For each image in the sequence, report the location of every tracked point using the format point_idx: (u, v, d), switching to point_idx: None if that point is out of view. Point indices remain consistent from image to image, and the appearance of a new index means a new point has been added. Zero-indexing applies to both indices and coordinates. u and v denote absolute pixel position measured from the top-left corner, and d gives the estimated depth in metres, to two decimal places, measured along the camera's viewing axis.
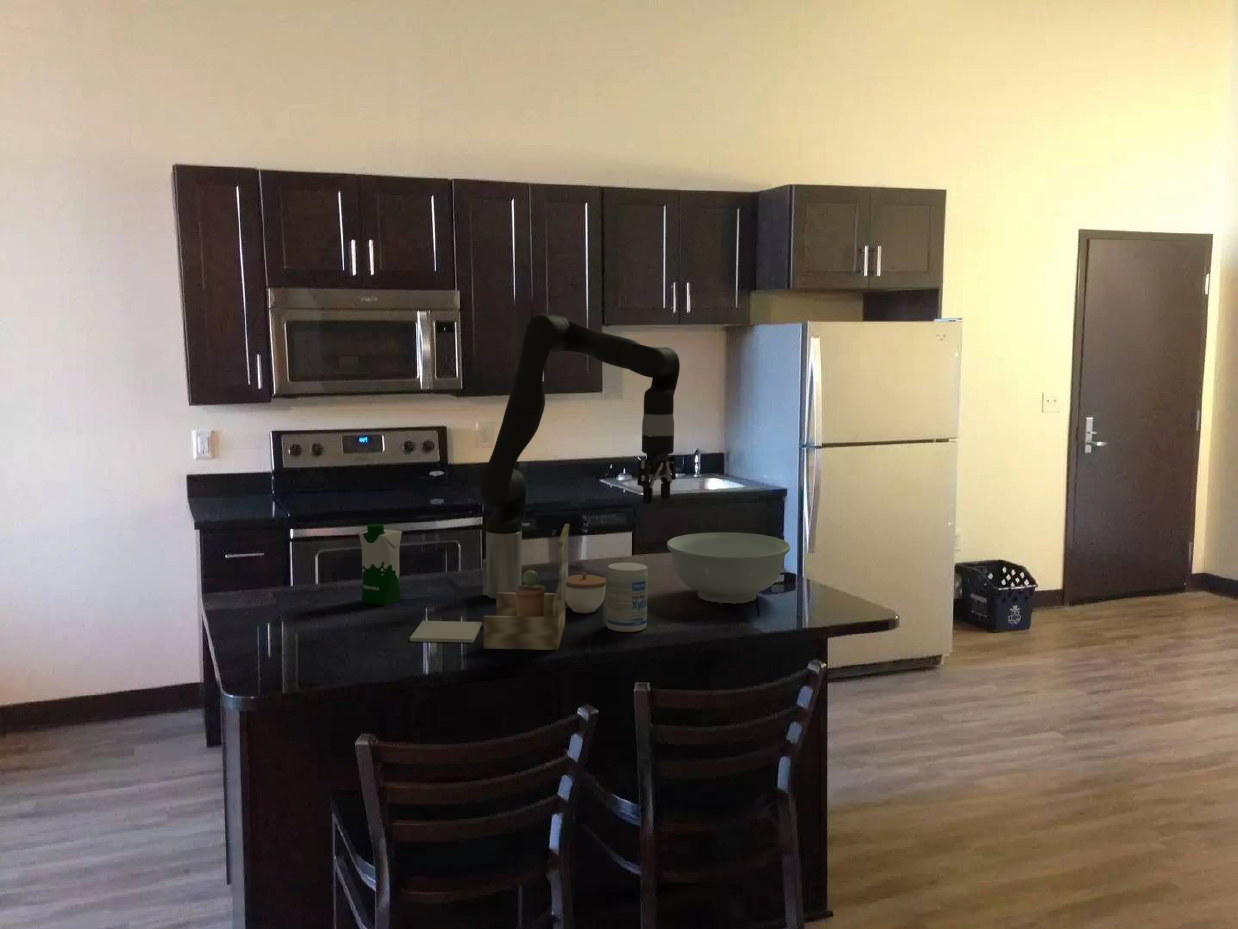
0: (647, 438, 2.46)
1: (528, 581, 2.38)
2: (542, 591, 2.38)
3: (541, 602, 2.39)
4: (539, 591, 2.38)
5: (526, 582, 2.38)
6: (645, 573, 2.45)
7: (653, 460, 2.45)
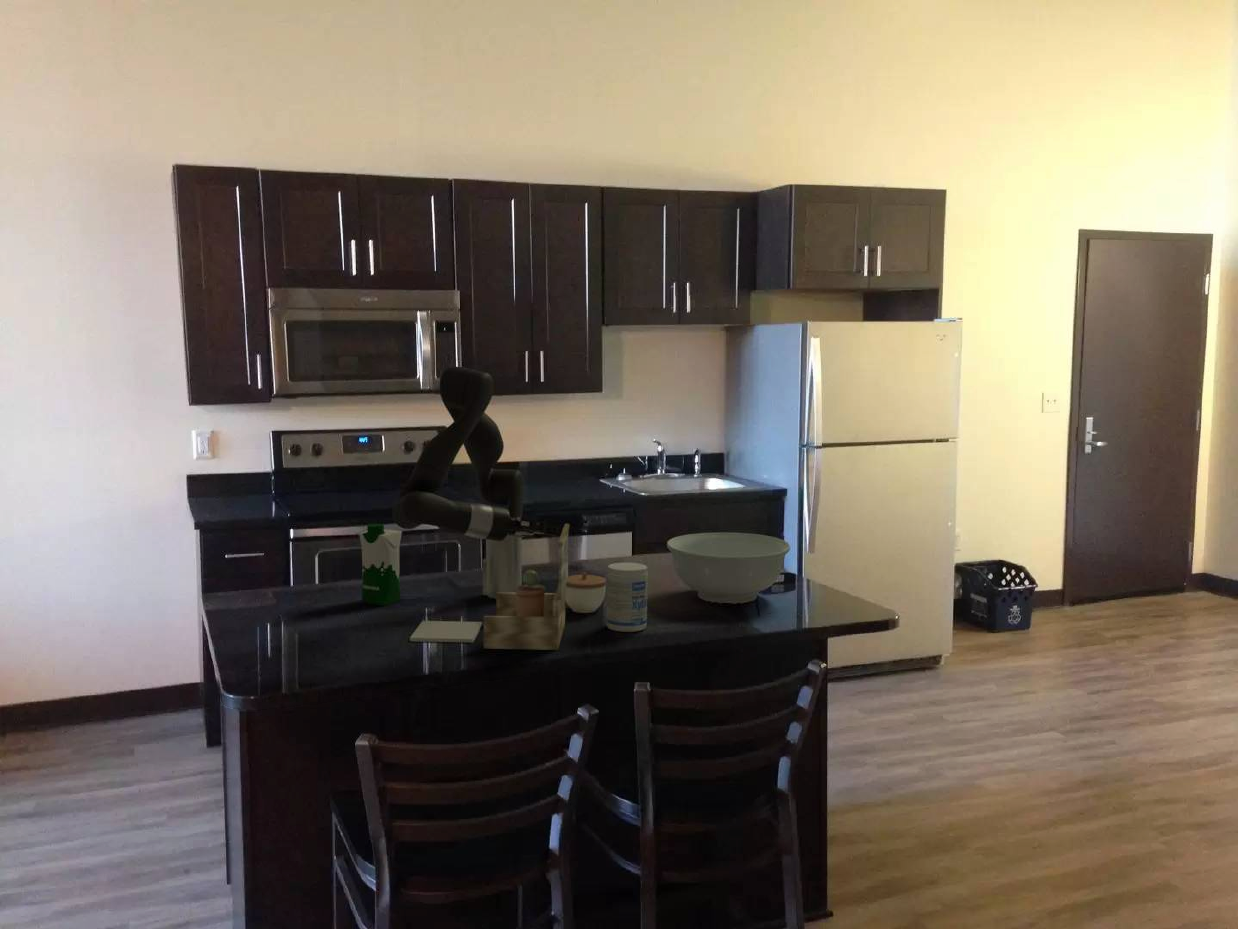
0: None
1: (528, 581, 2.38)
2: (542, 591, 2.38)
3: (541, 602, 2.39)
4: (539, 591, 2.38)
5: (526, 582, 2.38)
6: (645, 573, 2.45)
7: None
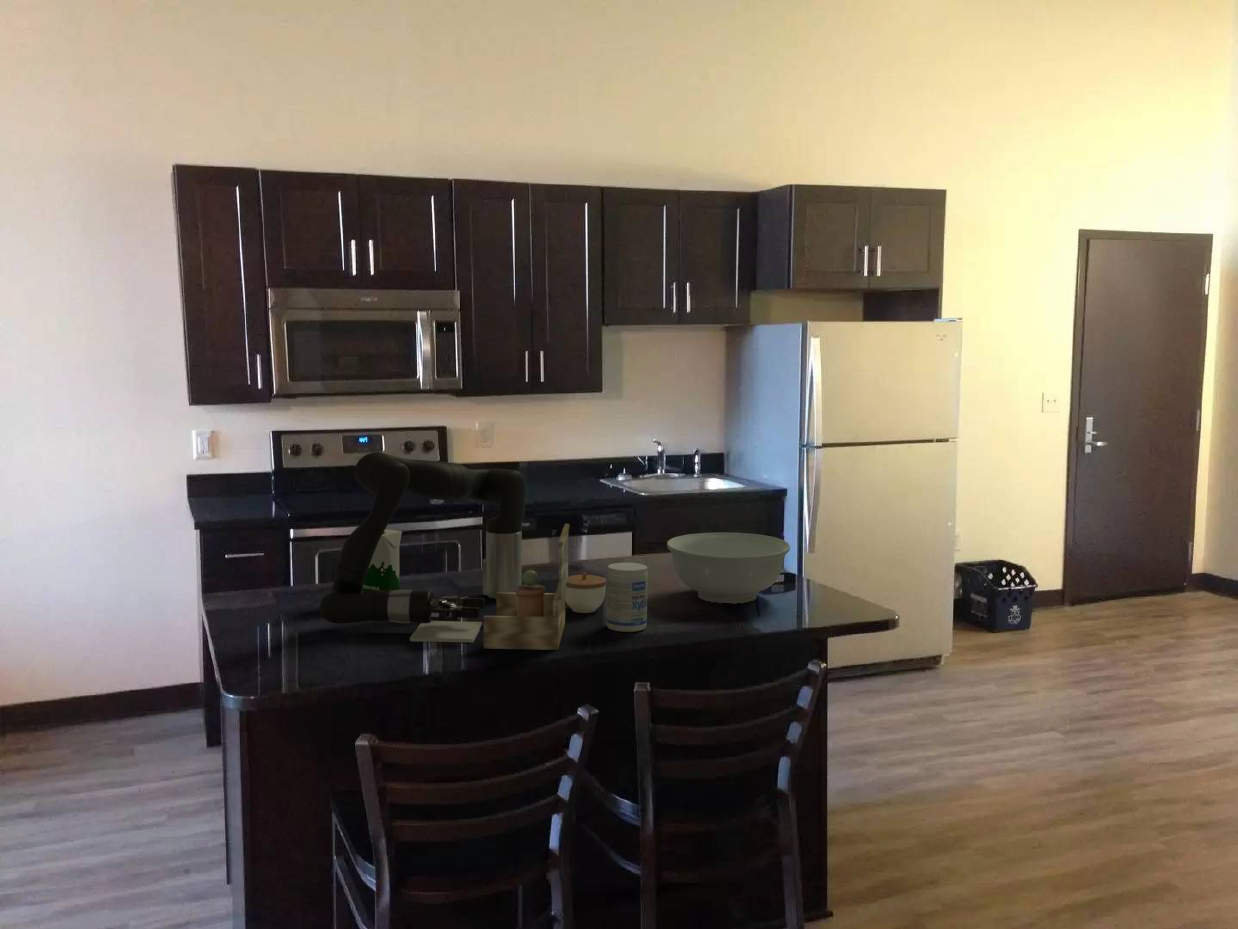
0: None
1: (528, 581, 2.38)
2: (542, 591, 2.38)
3: (541, 602, 2.39)
4: (539, 591, 2.38)
5: (526, 582, 2.38)
6: (645, 573, 2.45)
7: None
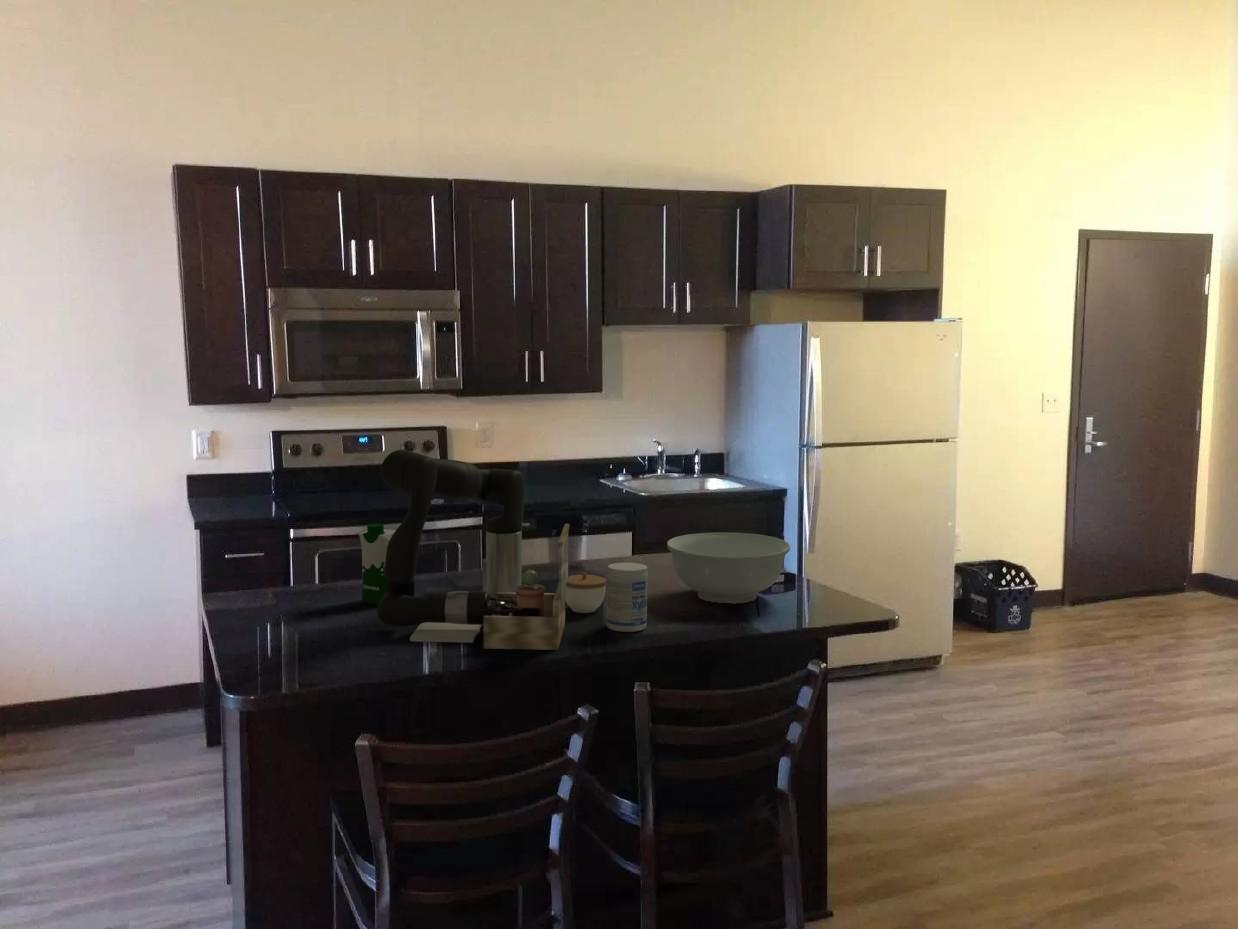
0: None
1: (528, 581, 2.38)
2: (542, 591, 2.38)
3: (541, 602, 2.39)
4: (539, 591, 2.38)
5: (526, 582, 2.38)
6: (645, 573, 2.45)
7: None
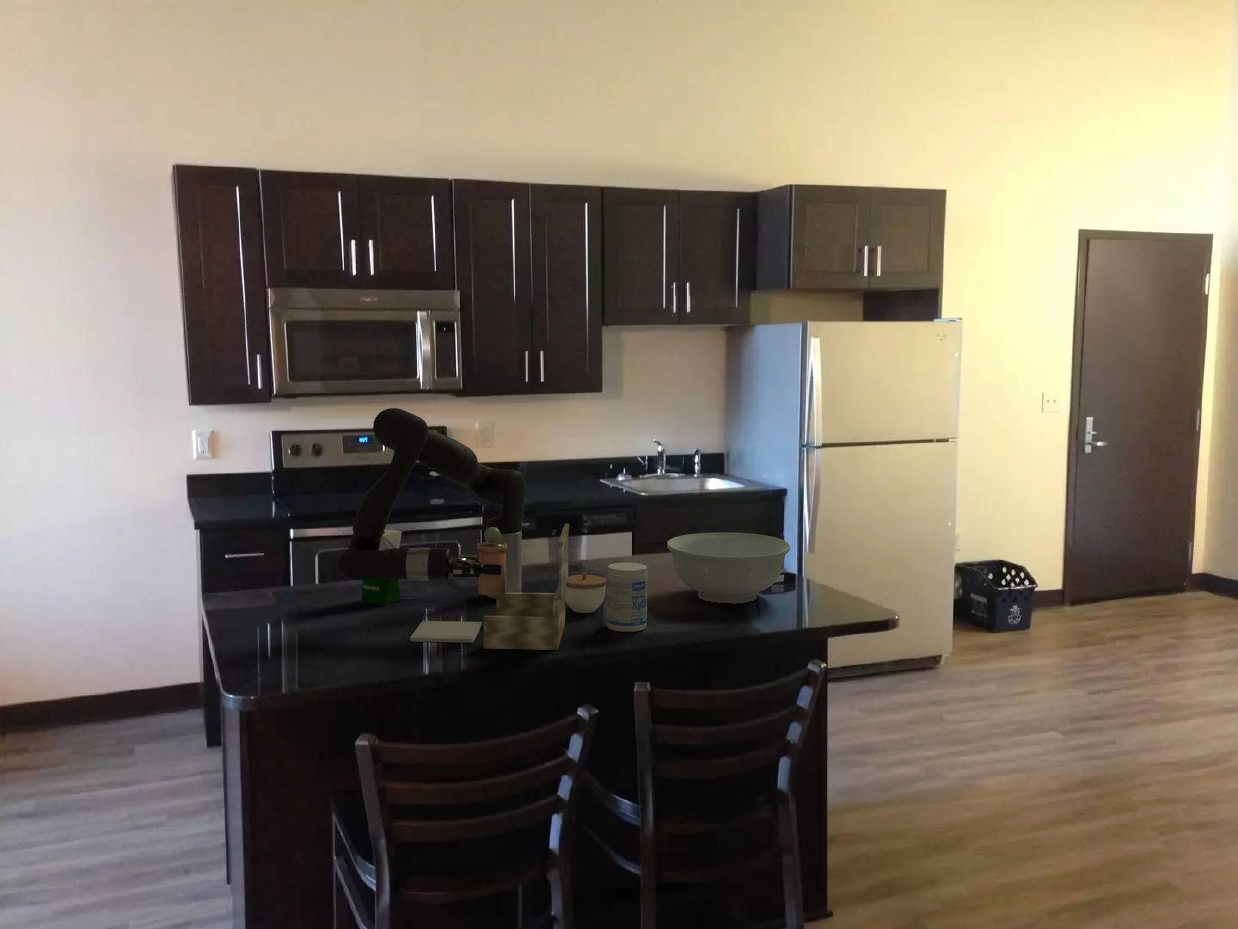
0: None
1: (490, 538, 2.37)
2: (504, 548, 2.37)
3: (503, 559, 2.38)
4: (501, 547, 2.36)
5: (488, 538, 2.37)
6: (645, 573, 2.45)
7: None
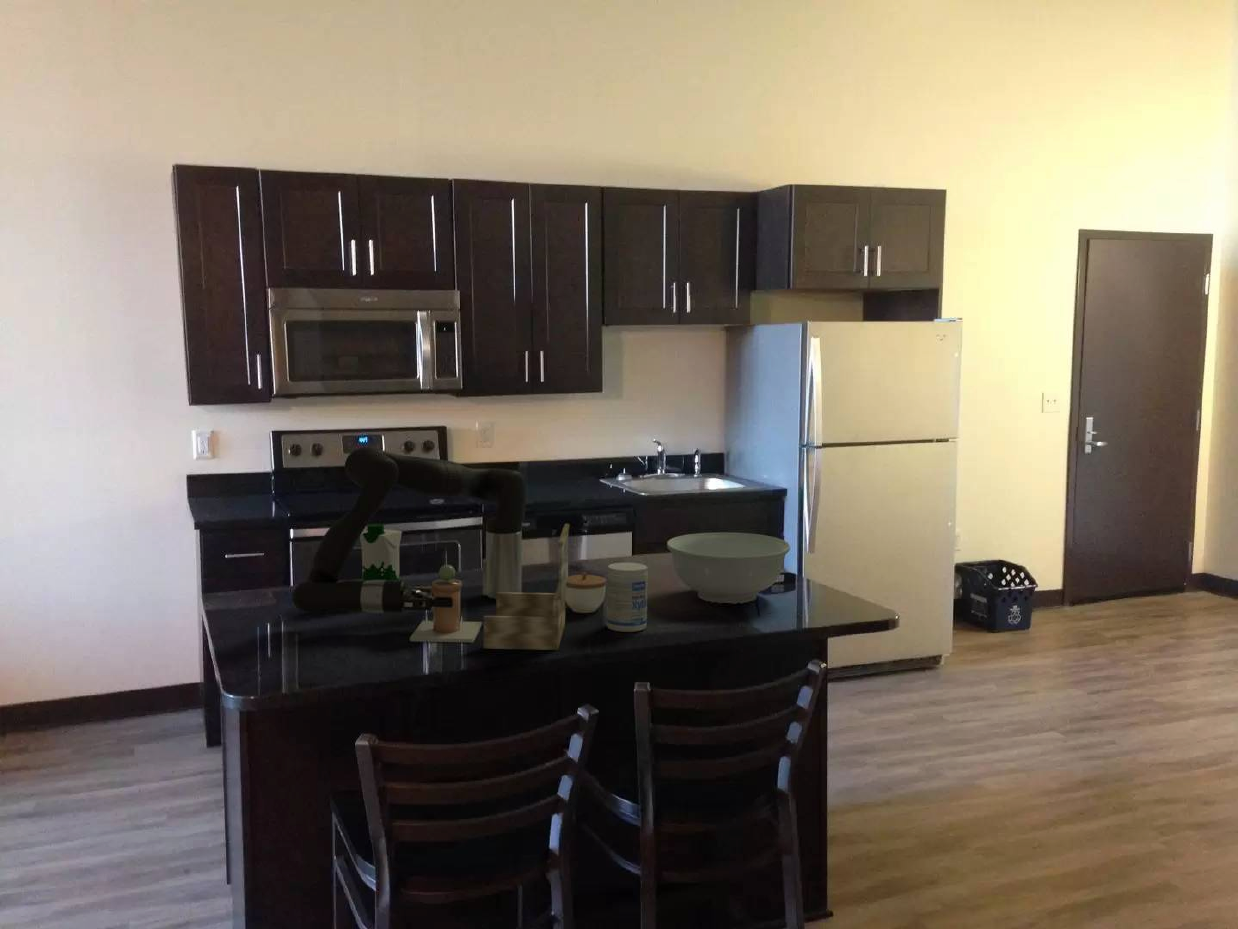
0: None
1: (444, 576, 2.38)
2: (458, 586, 2.39)
3: (457, 597, 2.39)
4: (455, 586, 2.38)
5: (442, 577, 2.39)
6: (645, 573, 2.45)
7: None
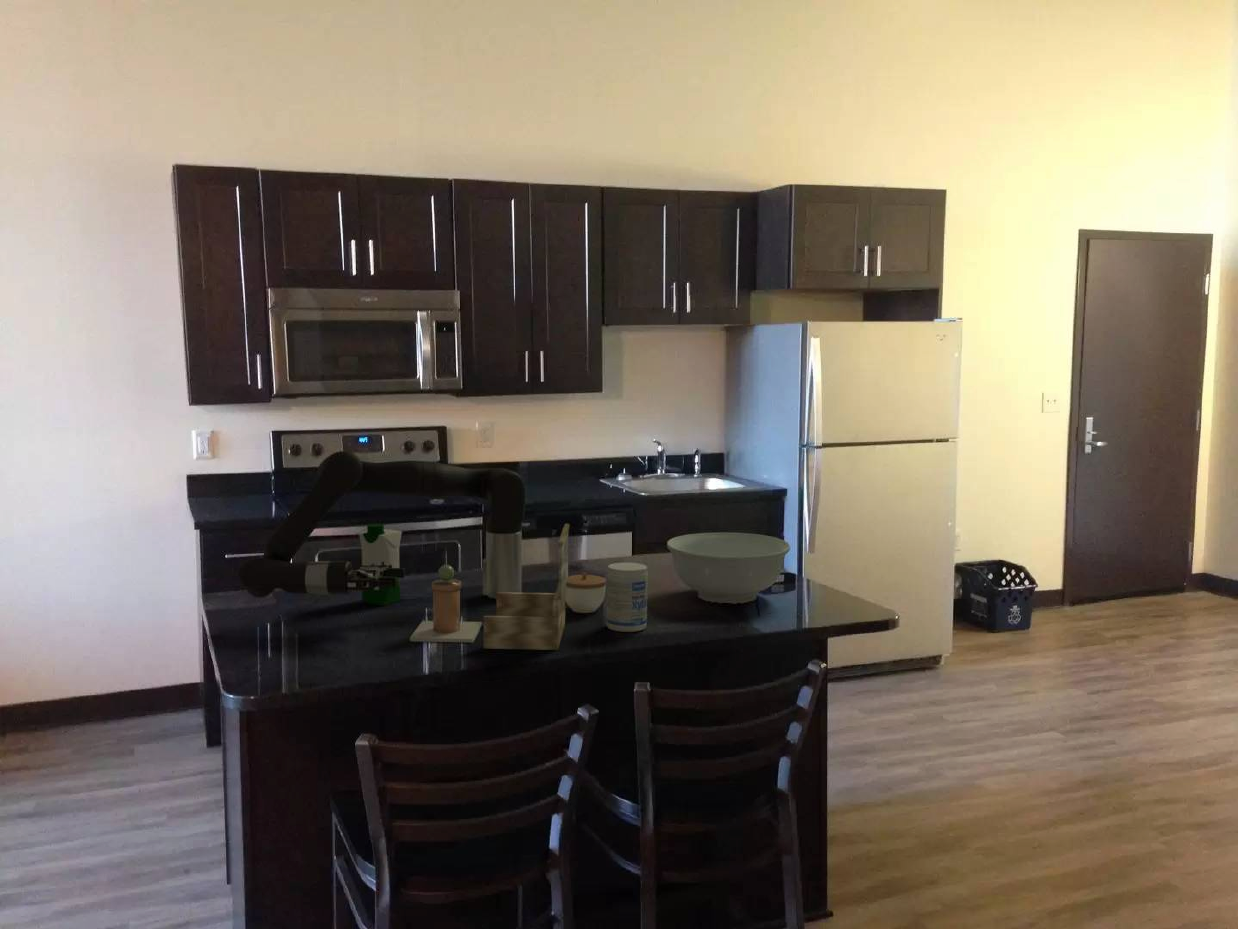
0: None
1: (443, 576, 2.38)
2: (457, 586, 2.39)
3: (456, 597, 2.39)
4: (454, 586, 2.38)
5: (441, 577, 2.39)
6: (645, 573, 2.45)
7: None
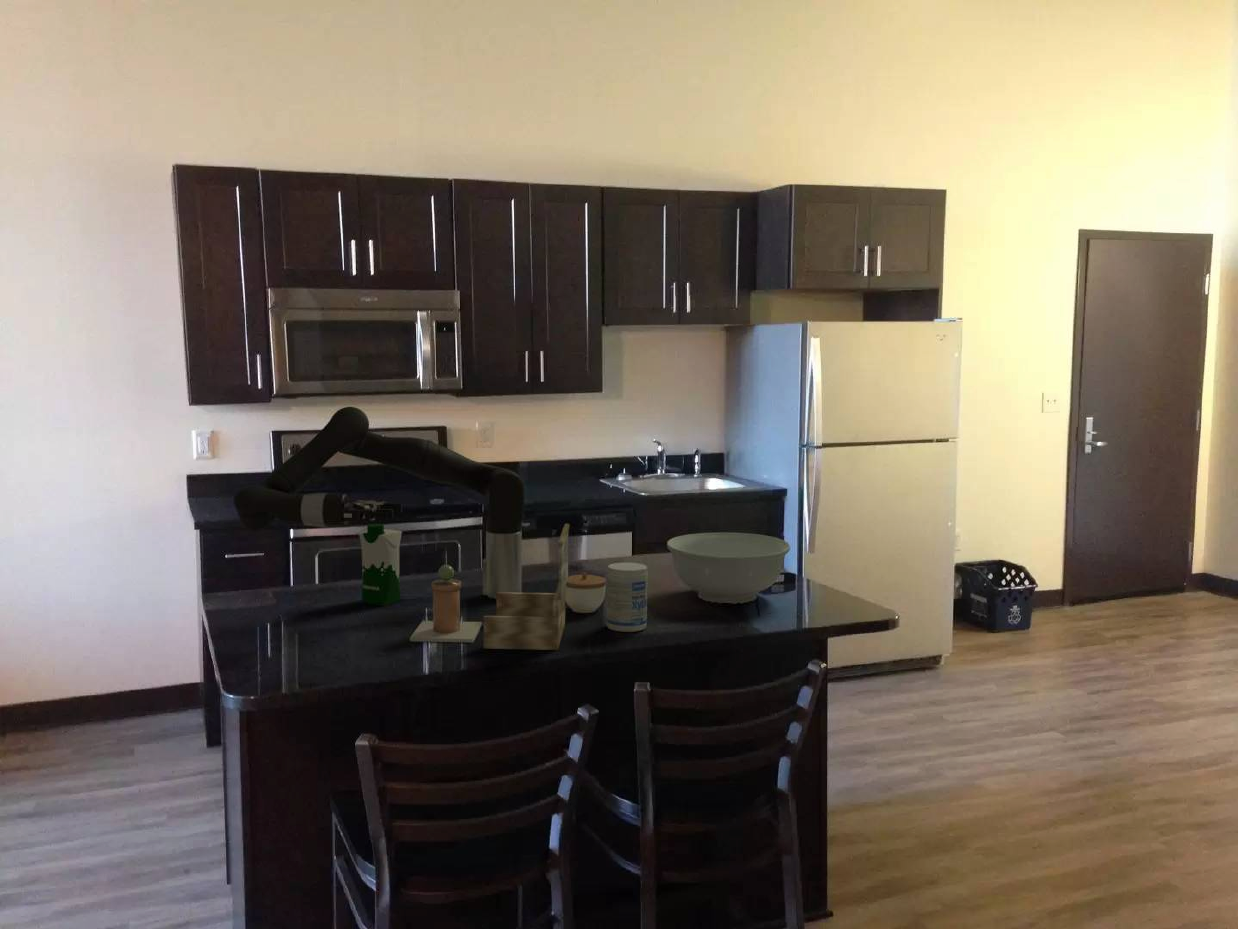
0: None
1: (443, 576, 2.38)
2: (457, 586, 2.39)
3: (456, 597, 2.39)
4: (454, 586, 2.38)
5: (441, 577, 2.39)
6: (645, 573, 2.45)
7: None
